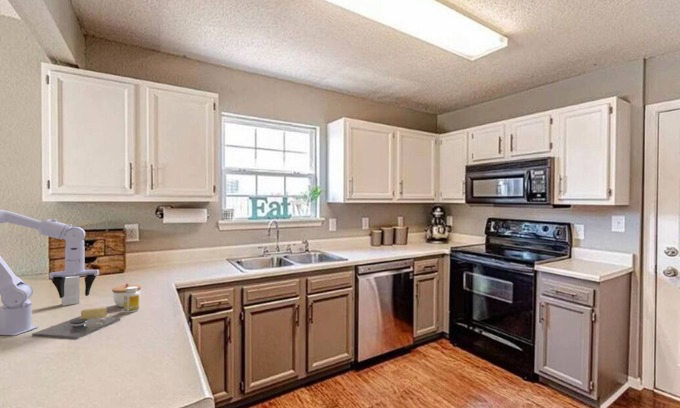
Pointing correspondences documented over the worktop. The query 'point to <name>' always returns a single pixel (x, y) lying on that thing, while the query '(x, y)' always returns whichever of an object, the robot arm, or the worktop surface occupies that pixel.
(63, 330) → the base plate
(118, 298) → the lidded jar
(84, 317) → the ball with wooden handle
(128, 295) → the supplement bottle
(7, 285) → the robot arm
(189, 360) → the worktop surface
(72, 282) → the skincare box
